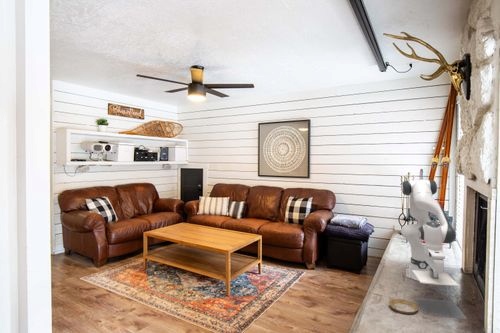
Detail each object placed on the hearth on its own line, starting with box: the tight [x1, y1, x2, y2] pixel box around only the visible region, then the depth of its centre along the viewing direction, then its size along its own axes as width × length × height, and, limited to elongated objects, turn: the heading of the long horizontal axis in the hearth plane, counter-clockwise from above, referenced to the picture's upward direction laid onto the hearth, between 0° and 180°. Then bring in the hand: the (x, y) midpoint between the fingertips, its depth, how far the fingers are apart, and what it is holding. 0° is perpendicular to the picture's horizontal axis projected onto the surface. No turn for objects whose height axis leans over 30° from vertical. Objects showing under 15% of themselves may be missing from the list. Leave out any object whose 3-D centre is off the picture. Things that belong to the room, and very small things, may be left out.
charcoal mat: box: [415, 296, 468, 320], centre depth 166 cm, size 20×20×1 cm
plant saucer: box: [388, 298, 419, 315], centre depth 166 cm, size 15×15×3 cm
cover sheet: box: [412, 269, 459, 287], centre depth 165 cm, size 18×18×5 cm
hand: (433, 275), depth 165 cm, fingers closed on cover sheet, 3 cm apart
